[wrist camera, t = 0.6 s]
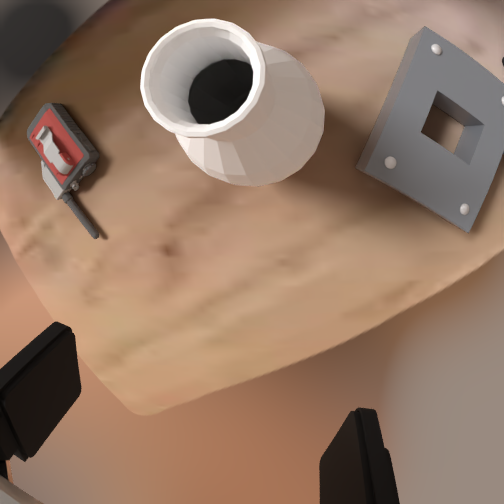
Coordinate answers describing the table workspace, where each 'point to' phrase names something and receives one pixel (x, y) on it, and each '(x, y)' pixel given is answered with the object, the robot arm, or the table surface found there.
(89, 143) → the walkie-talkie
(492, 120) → the plate
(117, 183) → the table surface
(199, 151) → the bottle
